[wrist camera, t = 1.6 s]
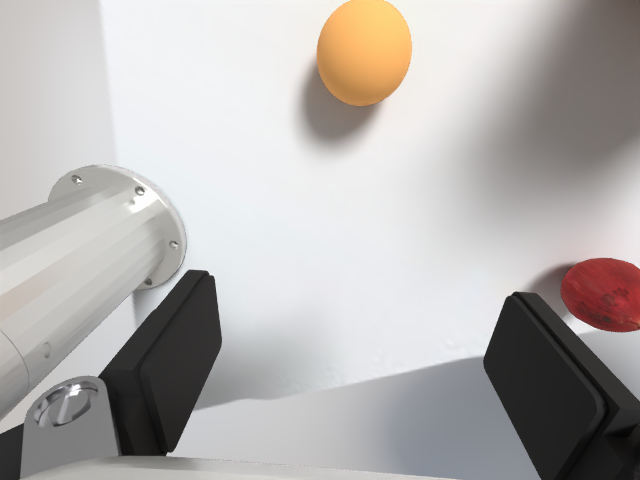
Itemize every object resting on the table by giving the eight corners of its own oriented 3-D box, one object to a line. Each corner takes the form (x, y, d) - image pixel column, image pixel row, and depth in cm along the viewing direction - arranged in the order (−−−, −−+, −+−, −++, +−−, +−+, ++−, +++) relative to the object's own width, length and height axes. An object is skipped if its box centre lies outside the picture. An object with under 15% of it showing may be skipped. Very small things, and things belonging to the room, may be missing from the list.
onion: (540, 299, 31) (599, 364, 24) (544, 248, 29) (612, 303, 21) (606, 290, 30) (688, 355, 23) (616, 237, 28) (711, 290, 21)
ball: (363, 120, 25) (368, 130, 20) (303, 65, 24) (291, 59, 18) (420, 51, 23) (444, 41, 17) (358, -14, 21) (363, -47, 16)
